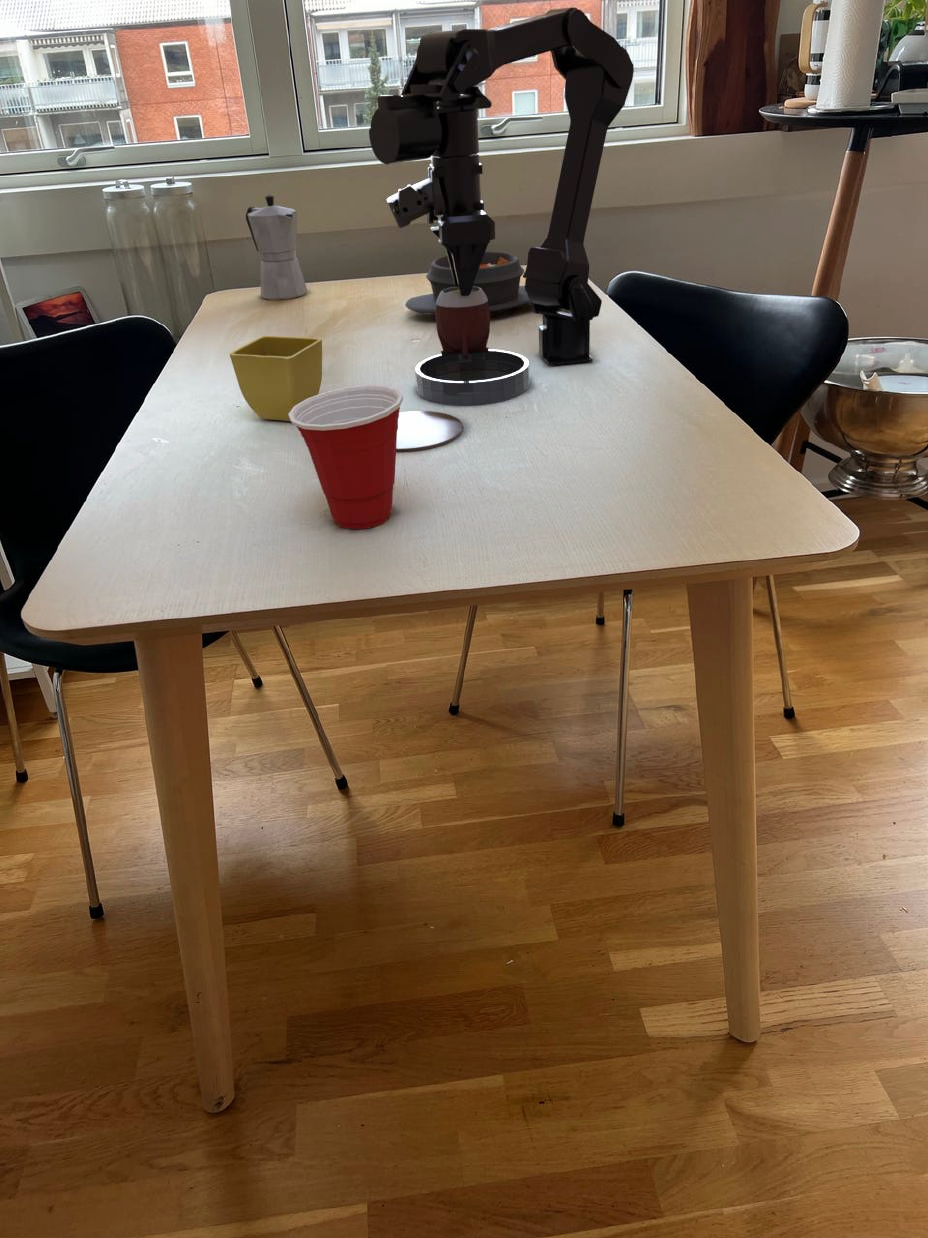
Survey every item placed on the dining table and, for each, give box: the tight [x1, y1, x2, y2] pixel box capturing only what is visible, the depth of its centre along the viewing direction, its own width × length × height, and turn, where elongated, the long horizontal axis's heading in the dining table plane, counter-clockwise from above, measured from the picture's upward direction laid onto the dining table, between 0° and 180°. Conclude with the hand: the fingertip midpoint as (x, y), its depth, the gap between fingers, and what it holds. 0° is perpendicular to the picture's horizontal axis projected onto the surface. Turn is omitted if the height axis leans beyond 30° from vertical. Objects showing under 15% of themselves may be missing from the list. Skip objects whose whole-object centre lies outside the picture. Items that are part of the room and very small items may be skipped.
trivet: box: [396, 410, 464, 453], centre depth 113 cm, size 13×13×1 cm
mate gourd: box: [434, 286, 491, 359], centre depth 119 cm, size 8×8×15 cm
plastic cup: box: [288, 384, 404, 530], centre depth 90 cm, size 11×11×12 cm
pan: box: [414, 349, 530, 407], centre depth 126 cm, size 15×15×3 cm
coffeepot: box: [245, 194, 308, 301], centre depth 180 cm, size 15×9×18 cm, turn 44°
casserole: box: [404, 251, 531, 316], centre depth 162 cm, size 25×19×8 cm
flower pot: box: [229, 335, 323, 422], centre depth 119 cm, size 9×9×9 cm
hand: (462, 290), depth 119 cm, fingers closed on mate gourd, 5 cm apart
